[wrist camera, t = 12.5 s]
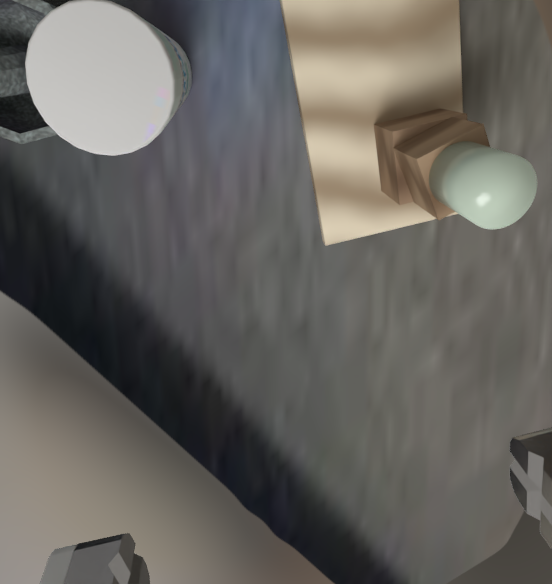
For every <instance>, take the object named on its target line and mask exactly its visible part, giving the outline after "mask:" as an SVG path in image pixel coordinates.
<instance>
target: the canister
mask: <svg viewBox="0 0 552 584" xmlns="http://www.w3.org/2000/svg"><path fill="white" fill-rule="evenodd" d="M429 187H430V190H431V192H432V194H433V196H434V197H435V198H436V199H437V200H438V201H439V202H441V203H442V204H444V205H445V206H447V207H449V208H450V209H452V210H453V211H455V212H457V213H458V214H460V215H461V216H463V217H465V218H466V219H468V220H470V221H471V222H473V223H474V224H476V225H478V226H479V227H482V228H485V229H500V228H503V227H506V226H509V225H511V224H512V223H514V222H516V221H517V220H518V219H520V218H521V217H522V216H523V215H524V214H525V213H526V211H527V210H528V209H529V207H530V206H531V204H532V202H533V200H534V198H535V195H536V190H537V177H536V173H535V170H534V168H533V167H532V165H531V164H530V163H529V162H528V161H527V160H526V159H524V158H522V157H520V156H517V155H514V154H510V153H507V152H504V151H501V150H497V149H494V148H491V147H488V146H484V145H481V144H478V143H475V142H471V141H461V142H457V143H454V144H452V145H450V146H448V147H446V148H445V149H444V150H443V151H442V152H441V153H440V154H439V155H438V156H437V157H436V159H435V160H434V162H433V164H432V166H431V169H430V173H429Z"/></svg>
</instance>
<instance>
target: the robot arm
mask: <svg viewBox="0 0 552 584" xmlns="http://www.w3.org/2000/svg"><path fill="white" fill-rule="evenodd" d="M510 453H511V454H512V455H513V457H514V458H515V460H514V462H513V463H512V464H511V466H510V480H511V484H512V487H513V490H514V493H515V495H516V497H517V499H518V501H519V502H520V504H521V505H522V507H523V508H524V510H525V511H526V513H527V514H529V515H531V516H533V517H535V518H537V519H538V520H540V533H541V535H542V536H543V537H544V539H545V540H546V542H547V543H548V545H549V546H550V548H551V549H552V427H551V428H547V429H543V430H540V431H536V432H532V433H528V434H524V435H520V436H516V437H513V438H512V439H511V441H510ZM134 549H135V542H134V540H133V539H132V537H131V535H130V534H128V533H127V534H121V535H116V536H112V537H107V538H103V539H98V540H93V541H89V542H84V543H80V544H77V545H72V546H67V547H63V548H59V549H55V550H54V551H53V552H52V554H51V555H50V556H49V558H48V561H47V564H46V567H45V570H44V573H43V575H42V578H41V581H40V584H150V580H149V579H150V578H149V573H148V569H147V565H146V563H145V561H144V559H143V557H141V556H139V555H137V554H135V553H134Z"/></svg>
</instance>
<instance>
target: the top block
mask: <svg viewBox="0 0 552 584" xmlns="http://www.w3.org/2000/svg"><path fill="white" fill-rule="evenodd" d="M461 141H471V142H475V143H478V144H481V145H484V146H488V147H490V145H489V142H488V138H487V135H486V131H485V128H484V124H481V123H476V122H472V121H468V120H463V119H459V118H455V117H450V118H448V119H446V120H445V121H443V122H441V123H439V124H437V125H435V126H433V127H431V128H430V129H428V130H426V131H424V132H422V133H420V134H418V135H416V136H415V137H413V138H411V139H409V140H407V141H405V142H403V143H401V144H400V145H398V146H396V147H394V148H393V149H394V152H395V154H396V157H397V160H398V162H399V165H400V167H401V170H402V173H403V175H404V178H405V181H406V183H407V186H408V188H409V191H410V194H411V196H412V199H413V201H414V203H415V204H417V205H418V206H420V207H421V208H422V209H424V210H425V211H427V212H428V213H429V214H431V215H432V216H434V217H435V218H436V219H438V220H440V219H442V218H444V217H446V216H448V215H450V214H452V213H454V212H455V211H453V210H452V209H450V208H449V207H447V206H445V205H444V204H442V203H441V202H439V201H438V200H437V199H436V198H435V197H434V196H433V194H432V192H431V190H430V187H429V173H430V169H431V166H432V164H433V162H434V160H435V159H436V157H437V156H438V155H439V154H440V153H441V152H442V151H443V150H444V149H445V148H446V147H448V146H450V145H452V144H454V143H457V142H461Z"/></svg>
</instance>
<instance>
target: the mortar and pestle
mask: <svg viewBox="0 0 552 584" xmlns="http://www.w3.org/2000/svg"><path fill="white" fill-rule="evenodd" d="M55 8H57V7H56V6H54V5H52V4H49V3H47V2H45V1H43V0H0V137H3V138H6V139H9V140H11V141H14V142H17V143H20V144H24V143H28V142H31V141H35V140H39V139H43V138H46V137H50V136H54V135H58V134H57V133H56V132H55V131H54V130H53V129H52V128H51V127H50V126H49V125H48V124H47V123H46V122H45V121H44V119H43V117H42V116H41V114H40V113H39V111H38V109H37V108H36V106H35V105H34V102H33V99H32V97H31V94H30V91H29V88H28V85H27V78H26V68H25V60H26V54H27V48H28V42H29V40H30V38H31V36H32V34H33V32H34V30H35V28H36V26H37V24H38V23H39V22H40V21H41V20H42V19H43V18H44V17H45V16H46V15H47V14H48V13H49V12H50V11H51V10H53V9H55Z"/></svg>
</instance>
